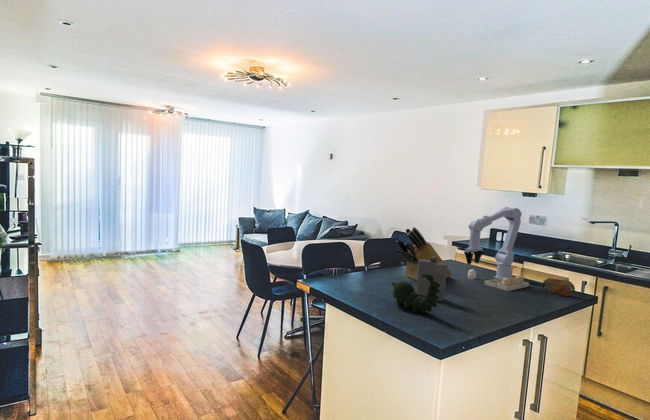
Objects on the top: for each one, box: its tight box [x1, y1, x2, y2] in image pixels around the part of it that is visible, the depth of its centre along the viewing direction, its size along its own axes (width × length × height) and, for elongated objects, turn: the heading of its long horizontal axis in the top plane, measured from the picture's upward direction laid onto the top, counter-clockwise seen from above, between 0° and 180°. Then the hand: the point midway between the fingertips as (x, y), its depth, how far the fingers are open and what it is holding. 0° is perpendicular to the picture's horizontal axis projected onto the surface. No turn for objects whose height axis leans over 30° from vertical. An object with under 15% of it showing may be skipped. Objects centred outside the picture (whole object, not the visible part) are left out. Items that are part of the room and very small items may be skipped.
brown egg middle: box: [509, 276, 517, 285], centre depth 218 cm, size 4×4×6 cm
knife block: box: [395, 226, 452, 281], centre depth 229 cm, size 11×35×31 cm, turn 115°
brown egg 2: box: [515, 275, 525, 284], centre depth 222 cm, size 4×4×6 cm
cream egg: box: [467, 268, 477, 281], centre depth 235 cm, size 4×4×6 cm
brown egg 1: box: [502, 278, 511, 287], centre depth 214 cm, size 4×4×6 cm
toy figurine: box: [391, 273, 440, 314], centre depth 172 cm, size 9×19×25 cm
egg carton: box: [483, 277, 530, 292], centre depth 221 cm, size 21×14×3 cm
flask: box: [415, 257, 448, 302], centre depth 192 cm, size 15×6×20 cm, turn 45°
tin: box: [542, 277, 576, 297], centre depth 209 cm, size 15×3×8 cm, turn 62°
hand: (472, 263), depth 234 cm, fingers open, 7 cm apart
